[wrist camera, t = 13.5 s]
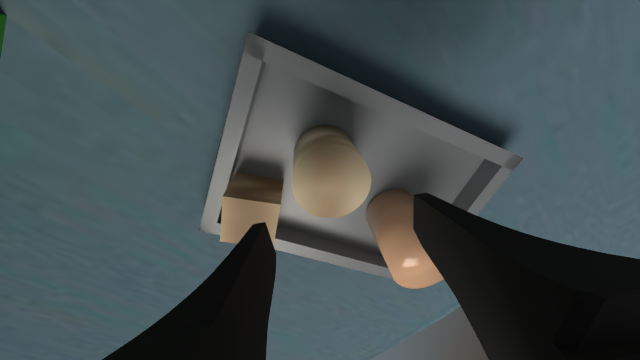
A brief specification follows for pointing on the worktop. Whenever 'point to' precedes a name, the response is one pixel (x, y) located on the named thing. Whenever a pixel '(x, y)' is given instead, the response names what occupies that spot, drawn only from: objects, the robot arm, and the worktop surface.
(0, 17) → the hardback book
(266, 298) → the robot arm
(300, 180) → the beige oval piece
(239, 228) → the oak cube
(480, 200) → the tray
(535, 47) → the worktop surface
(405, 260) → the tan rounded cylinder
